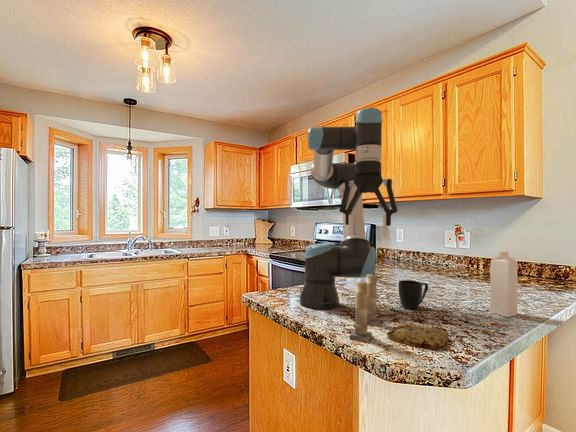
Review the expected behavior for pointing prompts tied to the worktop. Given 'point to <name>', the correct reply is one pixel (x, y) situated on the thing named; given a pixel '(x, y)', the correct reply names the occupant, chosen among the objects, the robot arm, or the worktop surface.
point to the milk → (503, 285)
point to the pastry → (419, 336)
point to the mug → (411, 293)
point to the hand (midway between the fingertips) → (367, 236)
